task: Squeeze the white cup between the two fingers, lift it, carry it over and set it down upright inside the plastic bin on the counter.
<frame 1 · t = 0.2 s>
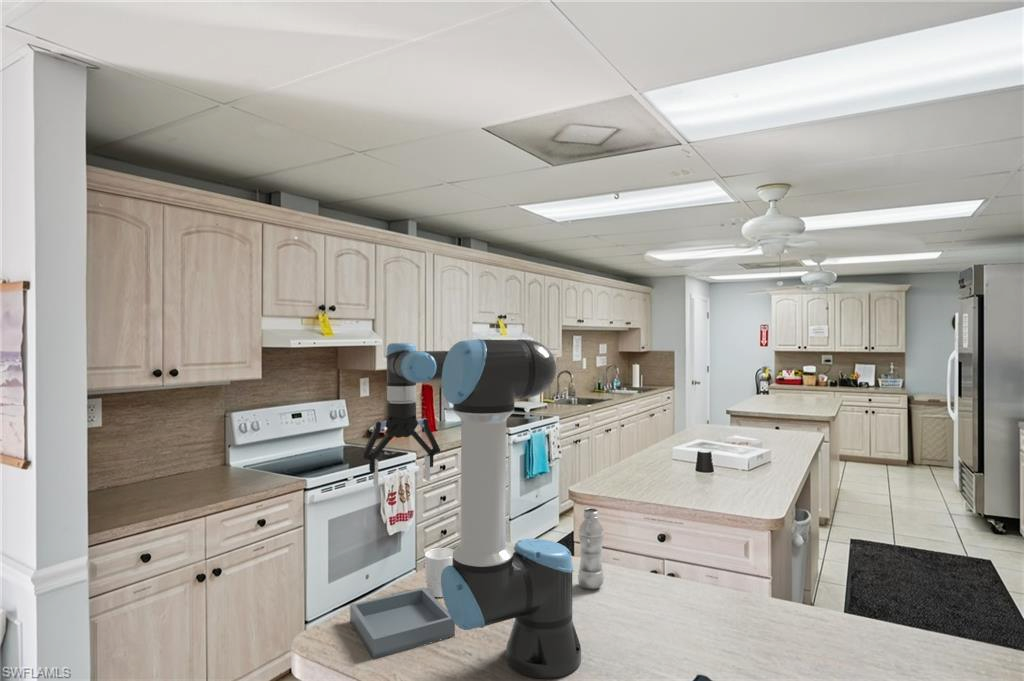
hand: (401, 482, 155), 27 cm above the countertop, tool pointing down, fingers open, 13 cm apart
bin: (401, 628, 132), on the countertop
white cup: (440, 593, 150), on the countertop
plastic bottle: (590, 587, 153), on the countertop
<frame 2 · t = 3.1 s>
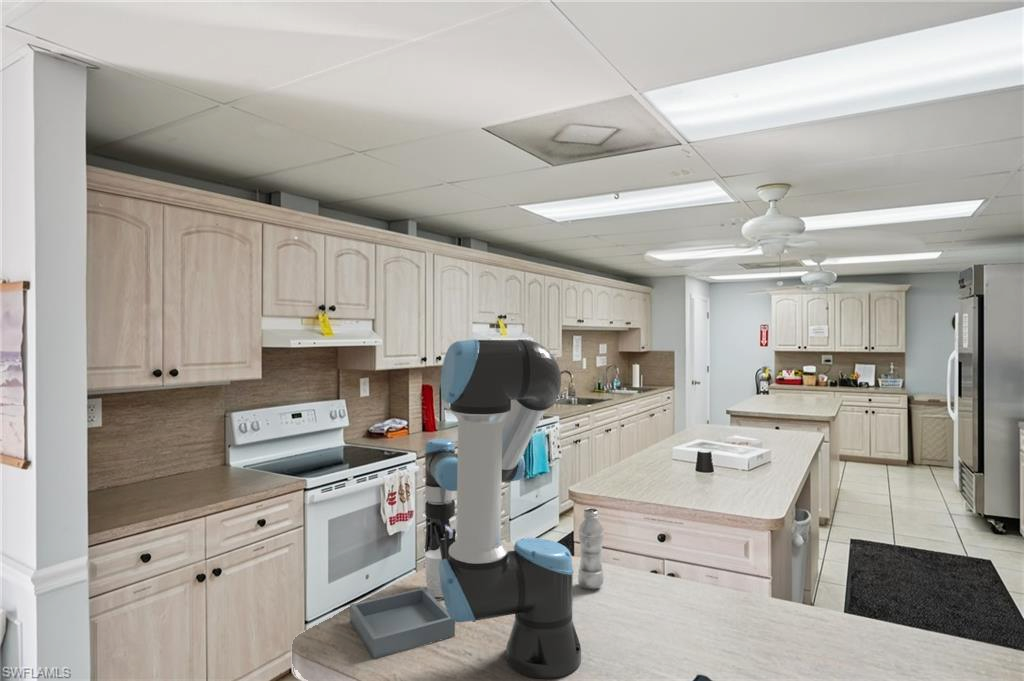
hand: (440, 589, 150), 1 cm above the countertop, tool pointing down, fingers closed on white cup, 8 cm apart
white cup: (440, 593, 150), on the countertop, touching gripper
everything else where it was.
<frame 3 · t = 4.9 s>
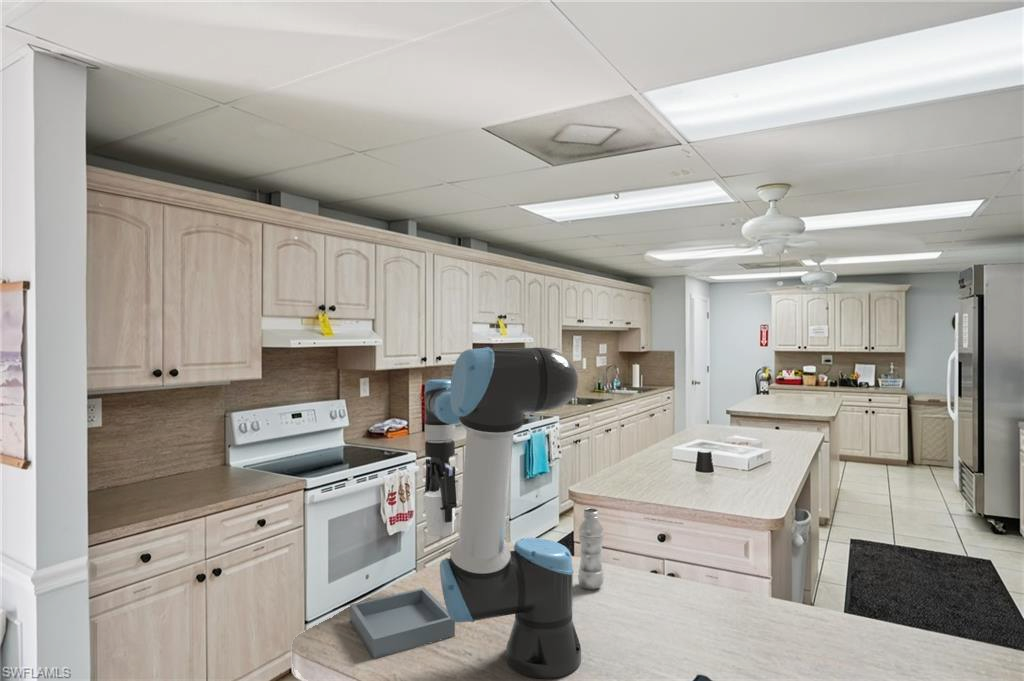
hand: (440, 529, 150), 16 cm above the countertop, tool pointing down, fingers closed on white cup, 7 cm apart
white cup: (440, 533, 150), point 15 cm above the countertop, touching gripper
everything else where it was.
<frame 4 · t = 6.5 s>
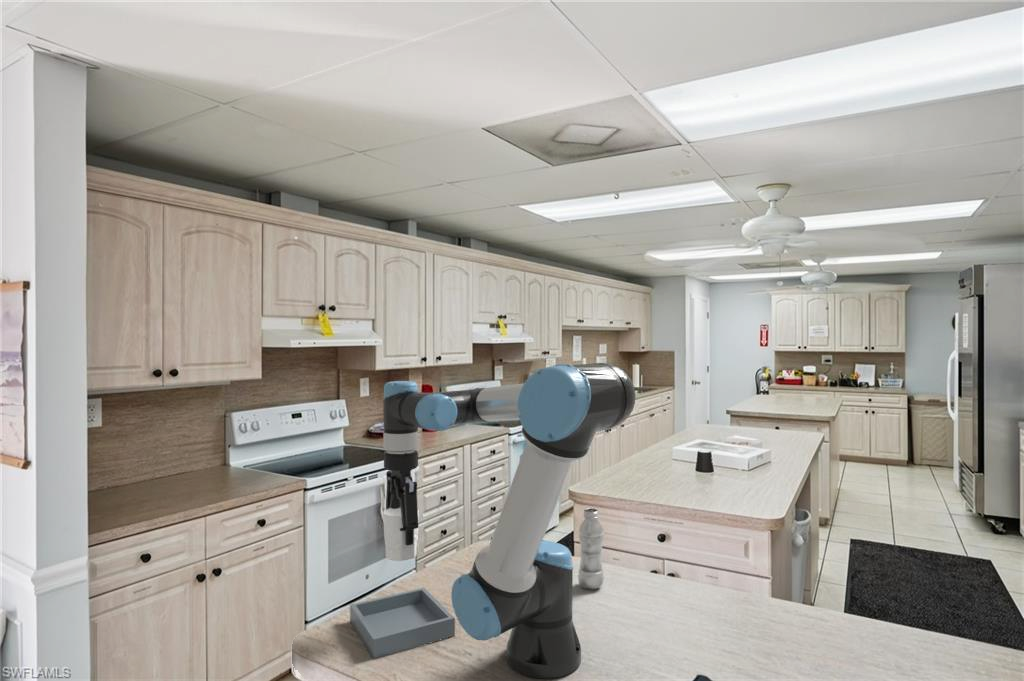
hand: (401, 552, 132), 17 cm above the countertop, tool pointing down, fingers closed on white cup, 7 cm apart
white cup: (401, 556, 132), point 16 cm above the countertop, touching gripper
everything else where it was.
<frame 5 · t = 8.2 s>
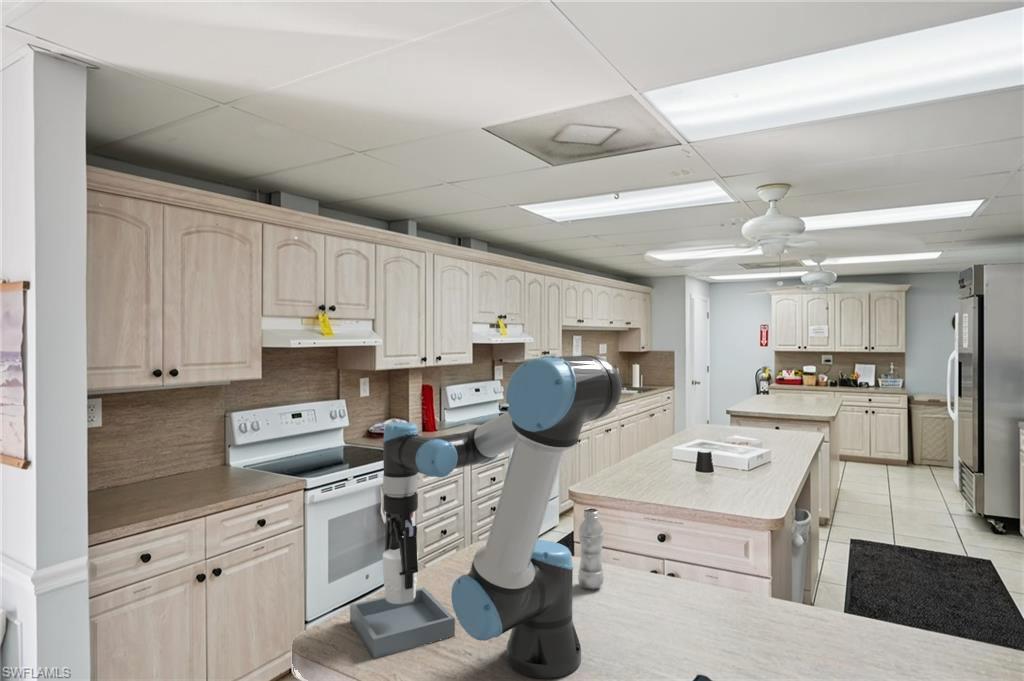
hand: (400, 594, 132), 8 cm above the countertop, tool pointing down, fingers closed on white cup, 7 cm apart
white cup: (400, 598, 132), point 7 cm above the countertop, touching gripper
everything else where it was.
when the fingers open (3 cm above the countertop, at t = 9.9 s): white cup drops 1 cm, resting on bin.
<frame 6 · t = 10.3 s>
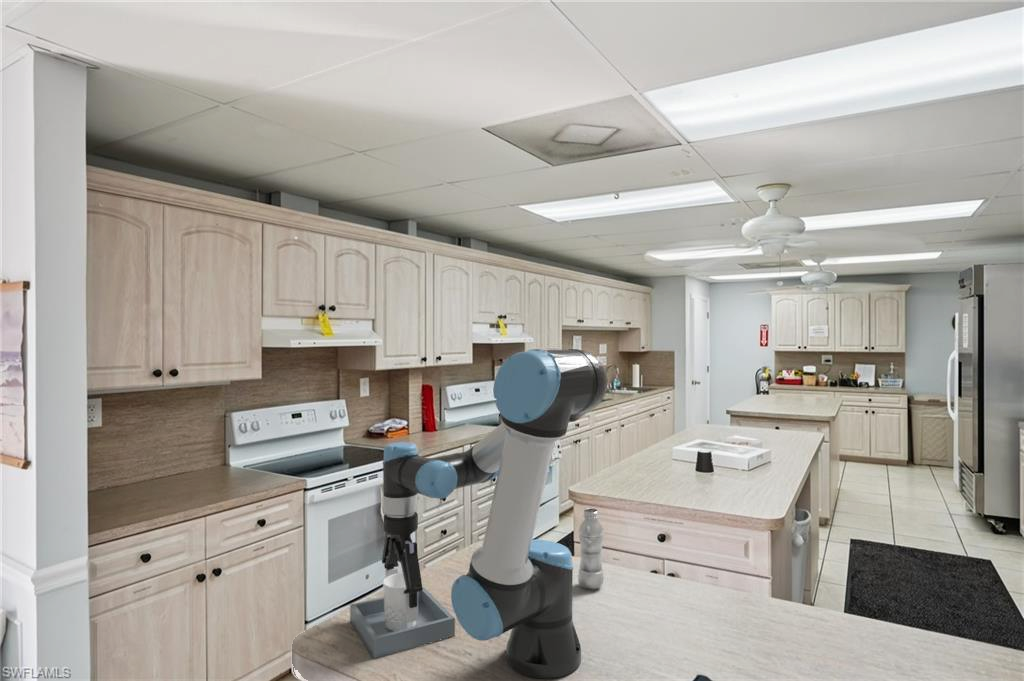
hand: (401, 608, 132), 5 cm above the countertop, tool pointing down, fingers open, 12 cm apart
white cup: (400, 625, 131), point 1 cm above the countertop, touching bin
everything else where it was.
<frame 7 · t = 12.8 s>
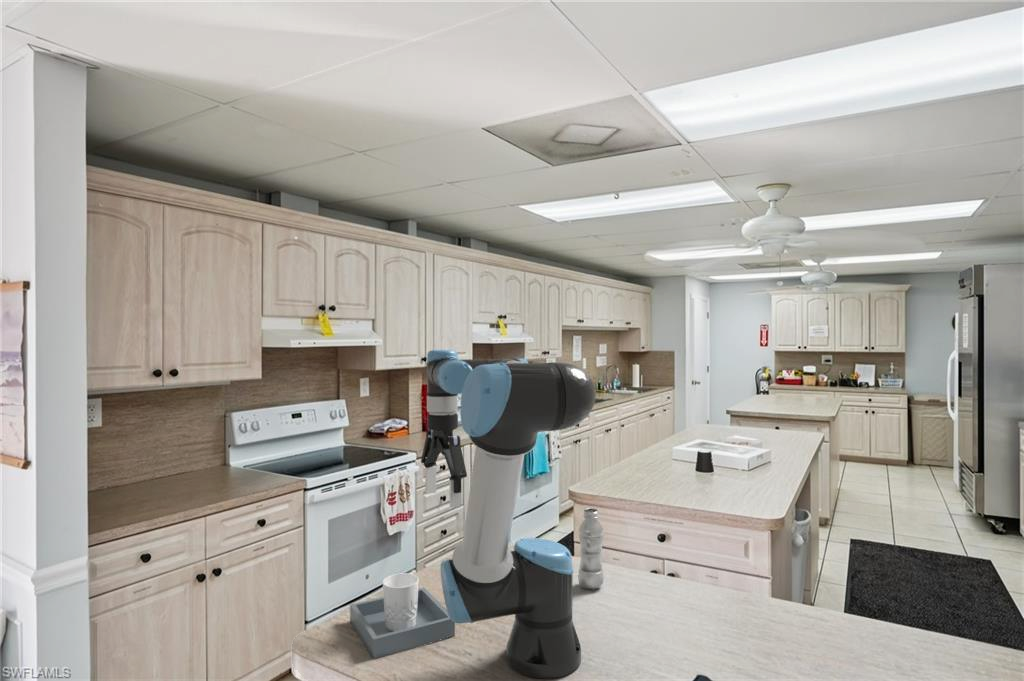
hand: (442, 499, 145), 25 cm above the countertop, tool pointing down, fingers open, 13 cm apart
nothing on the countertop moved.
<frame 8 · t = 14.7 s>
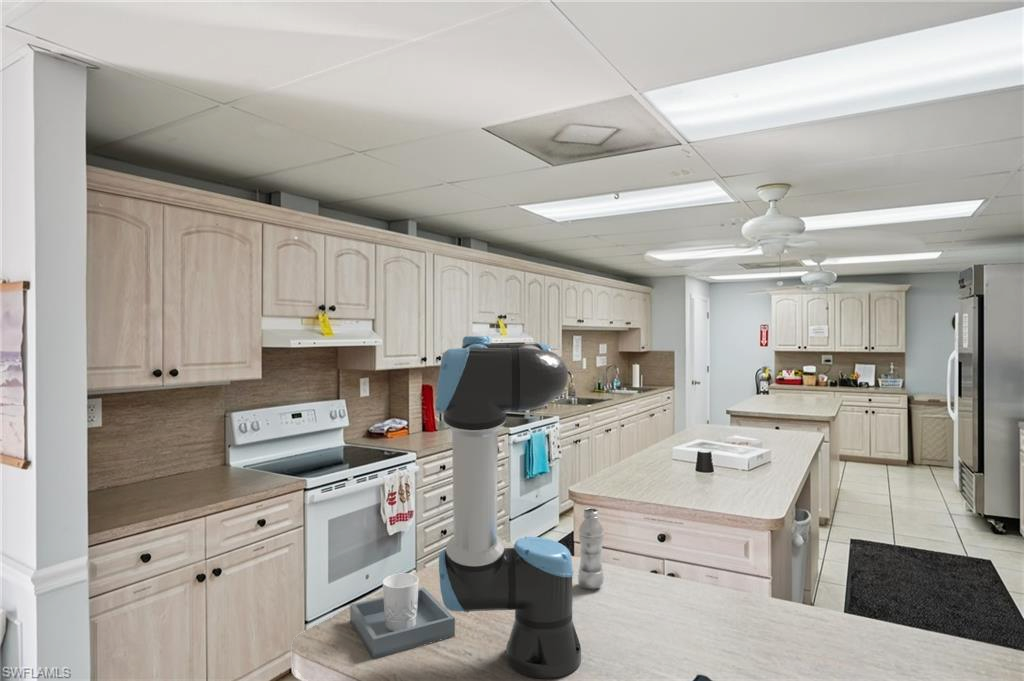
hand: (476, 474, 156), 29 cm above the countertop, tool pointing down, fingers open, 13 cm apart
nothing on the countertop moved.
at the end: white cup inside the target area on the bin (0.1 cm from its centre), point 0.8 cm above the bin's base; white cup tilted 0°; the gripper is holding nothing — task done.
